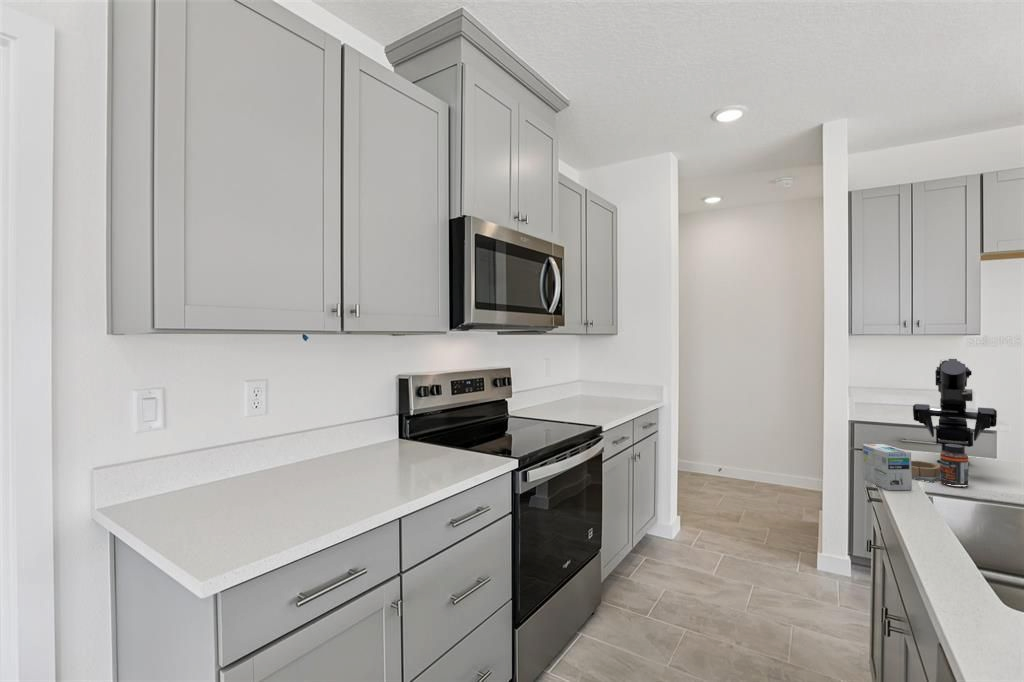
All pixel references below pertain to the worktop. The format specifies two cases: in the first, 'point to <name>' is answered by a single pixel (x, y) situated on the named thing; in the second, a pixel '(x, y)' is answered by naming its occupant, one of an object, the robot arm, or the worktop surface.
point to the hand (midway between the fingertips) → (953, 437)
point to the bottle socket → (925, 471)
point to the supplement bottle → (954, 465)
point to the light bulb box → (887, 466)
